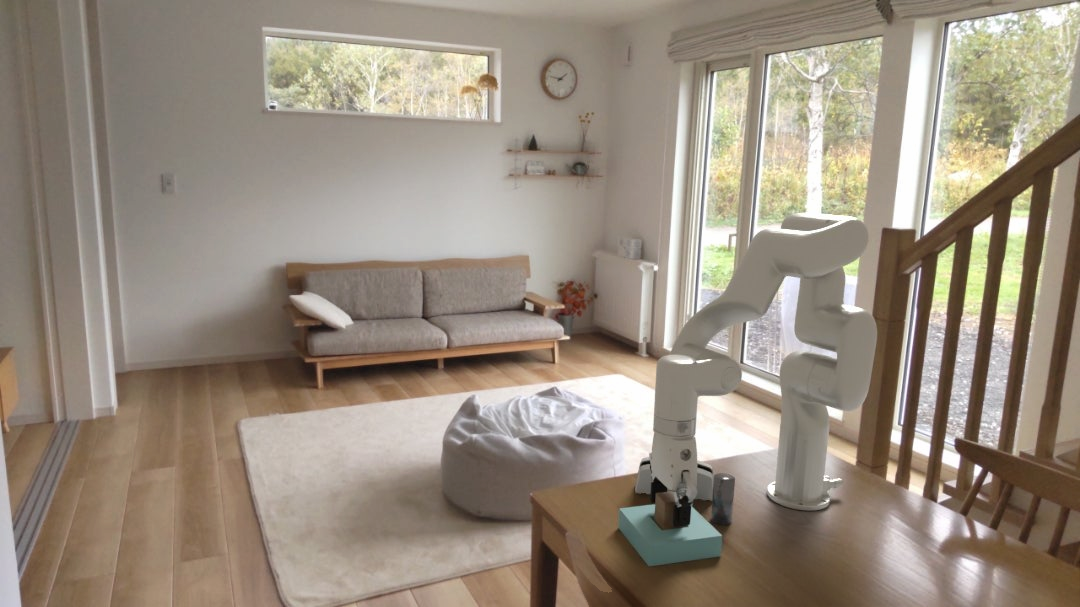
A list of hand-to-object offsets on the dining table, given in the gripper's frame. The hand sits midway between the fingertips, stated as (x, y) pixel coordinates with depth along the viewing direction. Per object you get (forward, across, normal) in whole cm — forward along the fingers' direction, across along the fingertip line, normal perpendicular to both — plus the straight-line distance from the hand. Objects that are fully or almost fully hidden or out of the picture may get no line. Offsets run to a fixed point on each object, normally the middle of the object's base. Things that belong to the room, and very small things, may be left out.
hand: (669, 513), depth 133 cm
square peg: (+6, 0, 0) cm, 6 cm away
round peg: (+6, +5, -14) cm, 16 cm away
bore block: (+6, 0, 0) cm, 6 cm away
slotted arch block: (+6, +18, -10) cm, 21 cm away
